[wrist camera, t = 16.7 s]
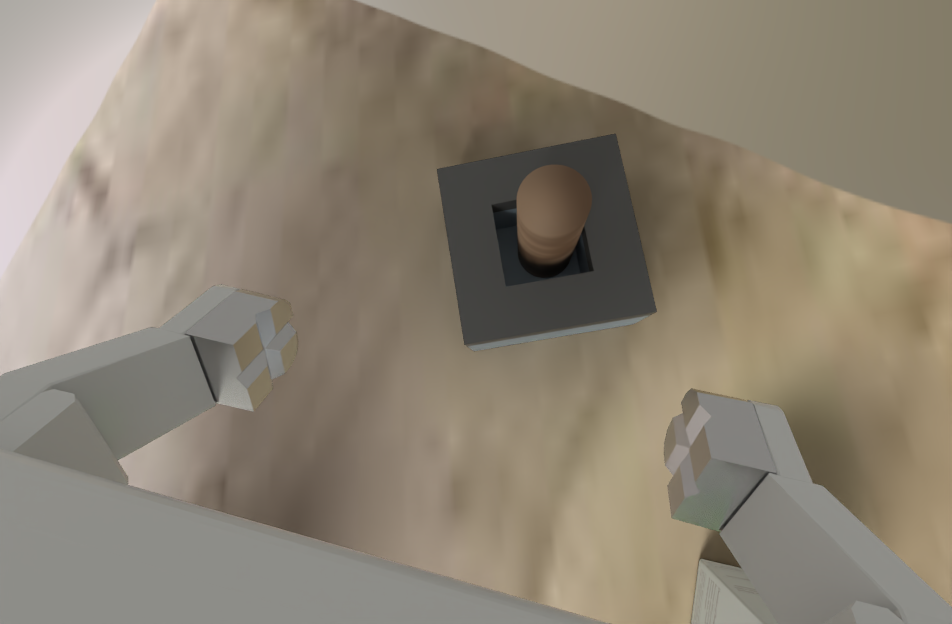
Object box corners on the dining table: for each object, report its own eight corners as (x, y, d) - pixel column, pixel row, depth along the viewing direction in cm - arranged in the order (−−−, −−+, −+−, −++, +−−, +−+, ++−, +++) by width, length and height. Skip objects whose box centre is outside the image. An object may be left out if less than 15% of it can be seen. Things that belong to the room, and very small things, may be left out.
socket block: (474, 351, 35) (464, 344, 29) (450, 203, 37) (436, 169, 31) (633, 324, 34) (656, 311, 28) (600, 174, 36) (615, 133, 30)
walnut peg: (522, 282, 34) (523, 241, 24) (513, 231, 35) (510, 172, 25) (576, 272, 34) (598, 227, 24) (566, 221, 35) (583, 158, 25)
